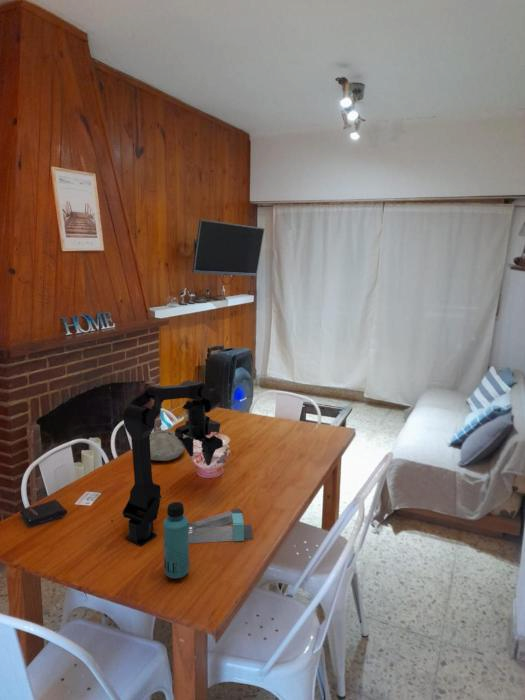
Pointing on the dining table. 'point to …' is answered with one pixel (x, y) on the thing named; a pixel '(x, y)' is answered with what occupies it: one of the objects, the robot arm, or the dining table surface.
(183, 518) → the beverage bottle
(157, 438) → the grey rounded lump
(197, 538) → the tongs body
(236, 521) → the lock collar
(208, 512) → the dining table surface
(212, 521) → the tongs jaw
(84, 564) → the dining table surface
